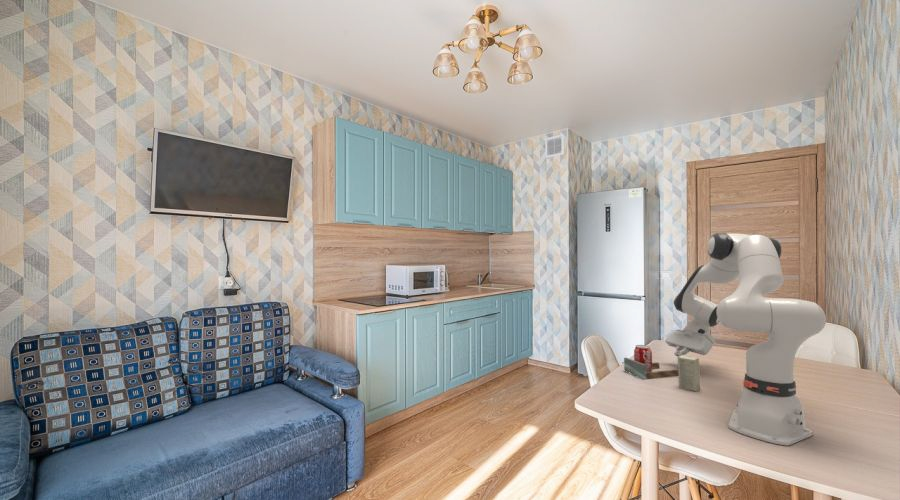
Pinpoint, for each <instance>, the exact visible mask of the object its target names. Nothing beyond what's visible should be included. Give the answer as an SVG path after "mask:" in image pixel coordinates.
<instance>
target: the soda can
mask: <svg viewBox="0 0 900 500" xmlns="http://www.w3.org/2000/svg"><path fill="white" fill-rule="evenodd" d="M633 360H634V361H637V362H640V363H642V364H645V365H646V372H653V369H652V363H653V352H652V349H651V347H650V346H649V345H646V344H636V345H635V347H634V350H633Z"/></svg>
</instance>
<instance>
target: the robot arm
mask: <svg viewBox="0 0 900 500" xmlns="http://www.w3.org/2000/svg"><path fill="white" fill-rule="evenodd" d="M706 249H707V254H708V256H709V257H710V260H709V262H708V263H706V264H705V265H702V264H701V265H700V266H698V267H697V268H696V269H695V270H694V271H693V272H692V274H691V276H690V277H689V278H688V280H687V281H686V282H685V285H684V286H683V287H682V289H681V290H680V291H679V293H678V294H677V295H676V296H675V298H674V300H673V306H674V308H675V310H676V311H678V312H681V313H683V314H686V315H688V316H690V317H692V319H691V320H690V321H688V323H686V325H685V327H684V328H683V329H682V330H681V329H676V330H675V329H674V330H673V331H671V332H670V334H668V335H667V336H666V337H665V339H664V342H665V343H666V344H667V346H669V347H672V348H675V351H674V356H675V357H677V358H678V357H679V356H681V355H684V356H686V355H687V354H689V353H694V354H697V355H698V354H699V355H701V356H705V355H708V354H709V353H710V351H711V350H712V348H713V345H714V344H715V343H716V342H717V341H716V340H715V337H713V336H712V335H711V334H710V331H711V330H712V329H713V328H714V327H715V326H717V325H718V324H719V323H720V324H721V325H722V326H724V327H725V328H728V329H732V330H735V331H740V332H749V333H750V332H751V333H763V334H764V333H765V334H769V337H768V338H767V339H766V340H765V341H762V342H759V343H756V344H753V345H751V346H749V347H748V348H747V350H746V352H745V361H746V362H745V364H746V365H745V368H746V370H745V371H746V373H745V374H744V377H743V382H742V383H743V388H741V392H740V397H739V400H738V403H736V406H737V409H734V410H733V411H732V414H731V416H730V419H729V422H728V425H727V426H728V428H729V429H731V430H732V431H735V432H737V433H740V434H742V435H745V436H747V437H750V438H754V439H756V440H757V439H758V440H760V441H763V442H767V443H771V444H776V445H781V446H790V445H792V444H795V443H798V442H800V441H803V440H805V439H807V438H811V437H812V436H814V434H813V430H811V429H809V428H808V427H806V423H805V412H804V404H803V402H802V401H800V399H798V398H797V396H796V395H797V383H796V381H795V380H794V367H795V366H794V365H795V358H796V357H795V356H796V354H797V351H798V350H799V348H800V347H801V345H802V344H803V343H804V342H806V341H807V340H808V339H809V338H811V337H813V336H815V335H817V334H819V333H820V332H821V331H823V329H824V328H825V327H826V323H827V316H826V314H825V312H824V310H823V309H822V307H821V306H820V305H819V304H818V303H816V302H814V301H809V300H804V299H799V298H798V299H797V298H788V297H787V298H786V297H766V295H768V294H772V293H774V292H776V291H778V290H779V289H780V288H781V287H782V286H783V284H784V281H785V279H784V275H783V269H782V265H781V261H780V258H781V256H782V255H781V254H782V245H781V244H780V242H779V241H778V240H777V239H774V238H771V237H768V236H765V235H763V234H746V233H727V232H717V233H714V234H713V235H712V236H710V238H709V240H708V243H707V248H706ZM737 278H738V284H737V287H736V289H735V290H734V291H733V292H732V293H731V294H730V295H728V296H727V297H724V298H723V299H722V300H720V301H719V303H718V304H716V303H714V302H712V301H710V300H707V299H706V298H704V297H701V296H699V295H697V294H696V293H694V291H696V288H697V287H698V285H699V284H700V283H710V284H715V285H716V284H717V285H719V284H720V285H721V284H722V285H723V284H729V283H731V282H734V281H735V280H736V279H737Z"/></svg>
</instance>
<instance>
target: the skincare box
mask: <svg viewBox="0 0 900 500" xmlns="http://www.w3.org/2000/svg"><path fill="white" fill-rule="evenodd" d="M699 361H700V359H699V357H694V356H688V355H681V356H679V357H678V356H677V368H678V374H679V376H678V387H679V388H681V389H684V390H689V391H693V392H698V391H700V389H701V380H700V376H701V375H700V362H699Z"/></svg>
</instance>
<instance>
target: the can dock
mask: <svg viewBox="0 0 900 500" xmlns="http://www.w3.org/2000/svg"><path fill="white" fill-rule="evenodd" d="M623 366H624V367H623V369H624V370H625V371H624V370H623V371H624V372H626V371H627V372H626V373H628V372H630V373H632V374H631V375H633V374H634V376H635V375H636V376H635V377H637V376H638V377H637V378H640V379H643V380H652V379H660V378H671V377H672V378H673V377H679V374H678V369H669V370H668V369H667V370H657V369H660V362H652V370H655V371H652V372H646V365H645V364H642V363H640V362H637V361H634V359H632V358H628V357H624V358H623ZM656 370H657V371H656ZM630 373H629V374H630Z"/></svg>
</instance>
